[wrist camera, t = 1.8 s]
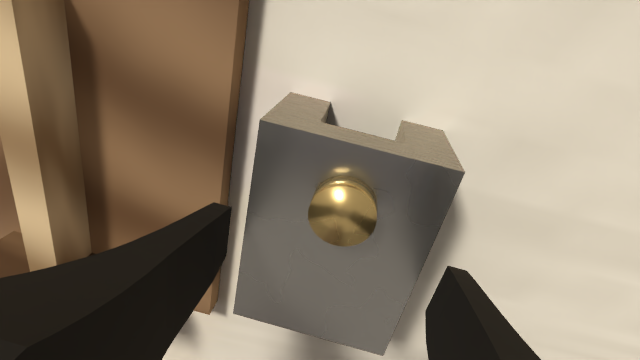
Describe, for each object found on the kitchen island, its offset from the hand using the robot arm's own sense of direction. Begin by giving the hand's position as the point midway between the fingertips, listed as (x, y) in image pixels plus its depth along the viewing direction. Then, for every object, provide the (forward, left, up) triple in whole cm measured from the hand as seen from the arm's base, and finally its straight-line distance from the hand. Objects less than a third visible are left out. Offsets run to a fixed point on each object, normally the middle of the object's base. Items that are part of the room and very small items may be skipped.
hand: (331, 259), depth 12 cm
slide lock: (0, 0, -4) cm, 4 cm away
